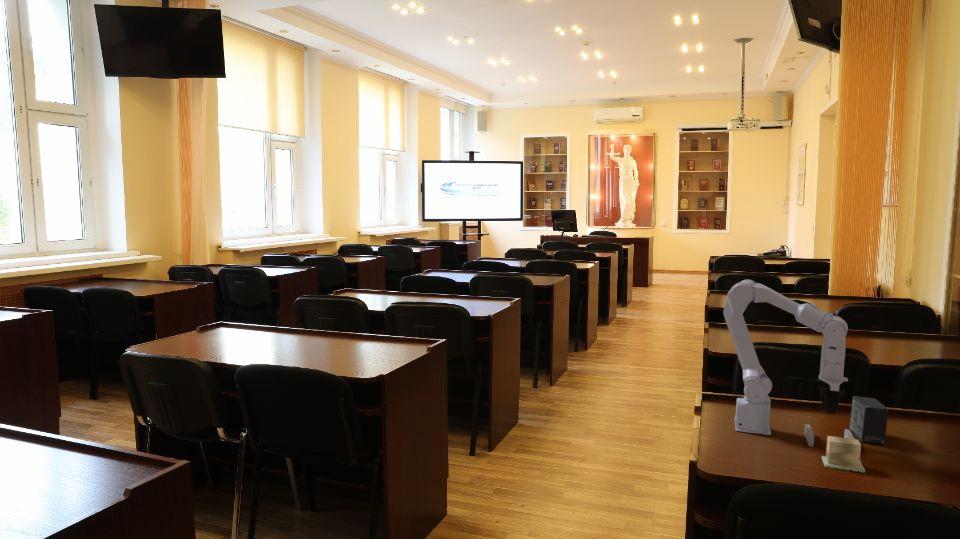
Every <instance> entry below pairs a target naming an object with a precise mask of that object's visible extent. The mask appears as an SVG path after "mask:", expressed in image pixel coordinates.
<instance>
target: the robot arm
mask: <svg viewBox="0 0 960 539" xmlns="http://www.w3.org/2000/svg"><path fill="white" fill-rule="evenodd" d="M752 302H754V304H755V303H768V304H770V305H772V306H775V307H777V308H778V309H781V310H783V311H784V312H785V311H786V312H787V313H790V314H792V315H794V318H795V320H796V322H797V323H799V324H801V325H804V326H805V327H808V328H810V329H811V330H813V331H816V332H818V333H822V336H823V343H822V344H821V353H820V354H821V355H820V368H819V375H818V378H816V381H817V383H818V385H819V391H820V399H821V403H822V405H823V406H824V408H825V412H826V414H831V415H835V414H836V413H837V410H838V406H839V404H840V402H841V399H842V398H843V397H844V395H845V394H846V391H845V390H844V389H840V385H842V384H843V383H844V382H849V379H848V377H845V376H844V369H845V360H846V347H847V346H846V342H847V340H846V336H847V333H848V330H849V329H848V328H849V327H848V323H847V322H846V321H845V320H844V319H843V318H842V317H841V316H839V315H834V313H833V312H832V313H831V312H830V313H827V312H826V311H824V310H822V309H820V308H818V307H817V304H815V303H814V302H813V303H811V304H810V303H808V302H807V303H802V304H800V303H798V302H796V301H794V300H792V299H790V297H789V298H788V297H786V296H784V295H783V294H781V293H780V292H777V291H775V290H774V289H772V288H770V287H768V286H766V285H764V284H762V283H759V282H755V281H754V280H752V279H748V278H747V279H743V280H741V281H740V282H737V283H735V284H734V285H733V286H731V288H730V289H729V291H728V292H727V294H726V301H725V303H724V304H725V305H724V308H723V317H724V320H725V322H726V326H727V329H728V332H729V334H730V337H731V340H732V344H733V346H734V349H735V353H736V355H737V357H738V361H739V363H740V367H741V369H742V380H743V384H744V388H743V394H744V396H743V397H737V398H736V404H735V416H734V419H733V420H734V421H733V422H734V426H735V431H736V432H742V433H752V434H758V435H759V434H760V435H766V436H771V435H772V431H771V427H770V418H771V417H770V416H771V405H772V404H771V402H772V400H771V398H770V396H769V394H770V393H771V391H772V389H773V382H772V380H771V378H770V377H768V376H767V374H766V372H765V370H764V368H763V367H762V366H761V364H760V360H759V358H758V355H757V352H756V350H755V346H754V344H753V341H752V339H751V335H750V332H749V329H748V326H747V323H746V321H745V318H744V315H743V314H744V312H745V311H746V309H747V308H748V306H749V304H750V303H752Z"/></svg>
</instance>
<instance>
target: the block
mask: <svg viewBox="0 0 960 539" xmlns="http://www.w3.org/2000/svg"><path fill="white" fill-rule="evenodd" d="M860 442H861V441H860V440H859V439H858V438H854V439H849V438H844V437H841V436H833V435H827V438H826V448H825V449H826V450H825V456H826V460H827V462H828V464H834V465H841V466H849V467H856V468H859V463H860V461H861V451H862V450H861V448H862V445H861V443H860Z"/></svg>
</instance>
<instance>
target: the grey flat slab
mask: <svg viewBox="0 0 960 539" xmlns="http://www.w3.org/2000/svg"><path fill="white" fill-rule="evenodd" d="M804 436H805V440H806V443H807V445H808V447H814V446H815V445H814V444H815V435H814V432H813V430H812V427H811V425H810V424H804ZM843 438H849V439H855V437H854V434H853V433H852V432H851V431H850V430H849V428H848V429H847V428H844V434H843Z"/></svg>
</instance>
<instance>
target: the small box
mask: <svg viewBox="0 0 960 539" xmlns="http://www.w3.org/2000/svg"><path fill="white" fill-rule="evenodd" d="M888 416H889V408H888V407H887V406H885V405H884V404H882V403H881V402H880V401H879V400H878V399H876V398H873V397H865V396H858V395H857V396H856V395H853V396H852V404H851V413H850V421H849V428H848V430H850V431H851V433H852V435H853V436H855V437H856V439H857V440H858V441H859V442H861V443H867V444H876V445H877V444H878V445H885V443H886V436H887V426H888V418H889V417H888Z"/></svg>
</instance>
